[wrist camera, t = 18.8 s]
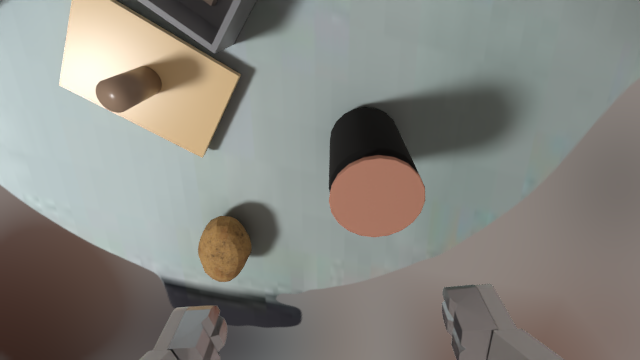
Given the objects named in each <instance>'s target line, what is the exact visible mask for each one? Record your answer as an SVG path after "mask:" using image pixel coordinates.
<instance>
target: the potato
mask: <svg viewBox="0 0 640 360" xmlns="http://www.w3.org/2000/svg"><path fill="white" fill-rule="evenodd" d="M250 253H251V241H250V237H249V235H248V234H247V232H246V230H245V229H244V227H243V226H242V224H241V223H240V222H239V221H238V220H237V219H235V218H232V217H228V216H219V217H217V218H215V219H213V220H211V221H210V222H209V223H208V225H207V226H206V228H205V230H204V231H203V234H202V236H201V239H200V242H199V247H198V254H199V257H200V260H201V263H202V265H203V268H204V271H205V273H207V274H208V275H209V276H210V277H211V278H212V279H214V280H217V281H219V282H227V281H230V280H232V279H233V278H235V277H236V276H237V275H238V274H239V273H240V272H241V270H242V269H243V267H244V265H245V263H246V261H247V259H248V257H249V255H250Z"/></svg>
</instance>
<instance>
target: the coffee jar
mask: <svg viewBox="0 0 640 360" xmlns="http://www.w3.org/2000/svg"><path fill="white" fill-rule="evenodd" d="M329 190H330V197H329V203H330V208H331V212H332V214H333V216H334V217H335V219H336V220H337V222H338V223H339V224H340V225H342V226H343V227H344V228H346V229H347V230H348V231H350V232H353V233H356V234H358V235H361V236H369V237H379V236H387V235H391V234H393V233H396V232H399V231H401V230H403V229H404V228H406V227H407V226H408V225H410V224H411V223H413V221H414V220H415V219H416V218H417V216H418V215H419V214H420V213H421V210H422V208H423V205H424V202H425V186H424V184H423V182H422V180H421V178H420V175H419V174H418V171H417V169H416V167H415V165H414V163H413V160H412V158H411V156H410V154H409V152H408V150H407V148H406V146H405V144H404V142H403V140H402V138H401V136H400V133H399V131H398V129H397V127H396V125H395V123H394V121H393V120H392V119H391V118H390V117H389V116H388V115H387V114H386V113H384V112H382V111H380V110H378V109H376V108H368V107H363V108H358V109H353V110H351V111H349V112H348V113H346V114H344V115H343V116H342V117H341V118H340V119H339V120H338V121H337V122H336V124H335V125H334V127H333V129H332V131H331V138H330V167H329Z"/></svg>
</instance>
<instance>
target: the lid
mask: <svg viewBox="0 0 640 360" xmlns="http://www.w3.org/2000/svg"><path fill="white" fill-rule="evenodd" d="M240 76H241V74H239V73H238V72H236V71H234V70H233V69H231V68H229V67H228V66H226V65H224V64H222V63H221V62H219V61H217V60H216V59H214V58H212V57H211V56H209V55H207V54H206V53H204V52H202V51H201V50H199V49H197V48H195V47H194V46H192V45H190V44H189V43H187V42H185V41H184V40H182V39H180V38H179V37H177V36H175V35H174V34H172V33H170V32H168V31H167V30H165V29H163V28H162V27H160V26H158V25H157V24H155V23H153V22H152V21H150V20H148V19H147V18H145V17H143V16H141V15H140V14H138V13H136V12H135V11H133V10H131V9H130V8H128V7H126V6H125V5H123V4H121V3H120V2H118V1H116V0H72V2H71V9H70V16H69V22H68V29H67V35H66V42H65V49H64V55H63V62H62V69H61V75H60V82H59V85H60V86H62V87H64V88H66V89H68V90H70V91H72V92H74V93H75V94H77V95H79V96H81V97H83V98H85V99H87V100H89V101H91V102H93V103H95V104H97V105H99V106H101V107H103V108H105V109H107V110H109V111H111V112H113V113H115V114H117V115H119V116H121V117H123V118H125V119H127V120H129V121H131V122H133V123H135V124H137V125H139V126H141V127H143V128H145V129H147V130H149V131H151V132H153V133H155V134H157V135H159V136H161V137H163V138H164V139H166V140H168V141H170V142H172V143H174V144H176V145H178V146H180V147H182V148H184V149H186V150H188V151H190V152H192V153H194V154H196V155H198V156H200V157H203V156H204V155H205V153H206V151H207V149H208V147H209V144H210V142H211V140H212V138H213V136H214V133H215V131H216V129H217V127H218V125H219V122H220V120H221V118H222V116H223V114H224V112H225V109H226V107H227V105H228V103H229V101H230V98H231V96H232V94H233V92H234V90H235V87H236V85H237V83H238V81H239V79H240Z"/></svg>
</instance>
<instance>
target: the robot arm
mask: <svg viewBox="0 0 640 360" xmlns="http://www.w3.org/2000/svg"><path fill="white" fill-rule="evenodd" d="M443 297H444V300H445V301H444V302H443V303H442V314H443V320H444V323H445V327H446V330H447V332H448V333H449V334H450V335H451V336H452V348H453V351H454V354H455V356H456V359H457V360H564V359H563V358H561V357H560V356H559V355H557V354H556V353H555V352H553V351H552V350H551V349H549V348H548V347H546V346H545V345H544V344H542V343H541V342H540V341H538V340H537V339H536V338H534V337H533V336H531V335H530V334H529V333H527V332H526V331H525V330H523V329H517V328H516V326H515V324H514V323H513V320H512V319H511V317H510V315H509V313H508V312H507V310H506V308H505V306H504V304H503V303H502V301H501V299H500V297H499V295H498V293H497V292H496V290H495V288H494V286H492V285H491V284H482V285H465V286H454V287H444V289H443ZM219 313H220V310H219V308H218V307H217V305H216V306H196V307H180V308H176V309H175V310H174V311H173V312H172V314H171V316H170V318H169V320H168V322H167V323H166V325H165V327H164V329H163V331H162V333H161V335H160V337H159V339H158V341H157V343H156V345H155V347H154V349H153V351H148V352H147V353H146V354H145V355H144V356H143V357H142V358H140V359H139V360H220V355H219V352H218V351H219V350H220V349H221V348H222V347H223V346H224V345H225V341H226V337H227V325H226V321H225V319H224V318H222V317H221V316H219Z"/></svg>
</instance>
